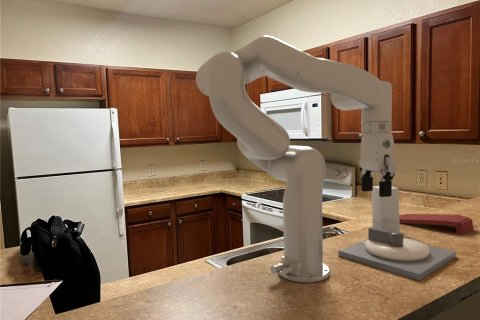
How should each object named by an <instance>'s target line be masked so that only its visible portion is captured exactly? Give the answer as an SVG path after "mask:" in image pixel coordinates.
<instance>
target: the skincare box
mask: <svg viewBox="0 0 480 320" xmlns="http://www.w3.org/2000/svg"><path fill="white" fill-rule="evenodd" d="M399 190H400V189H399V187H395V186H392V195H391V196H390V197H380V196H379V185H373V190H372V191H371V209H372V210H371V211H372V215H371V216H372V227H373V228H378V229H383V230H388V231H396V232H401V230H400V229H401V228H400V224H401V223H399V215H400V191H399Z"/></svg>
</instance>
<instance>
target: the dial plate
mask: <svg viewBox="0 0 480 320" xmlns="http://www.w3.org/2000/svg"><path fill="white" fill-rule="evenodd" d="M367 240H368V238H366V239H364V240H362V241H360V242H356V243H354V244H352V245H349V246H346V247H344V248H341V249H339V250H338V256H339V257H342V258H344V259H348V260H351V261H355V262H357V263H361V264H365V265H367V266H371V267H374V268H378V269H379V270H384V271H387V272H390V273H393V274H397V275H400V276H403V277H405V278H410V279H414V280H416V281H420V280H422V279H423V278H426V277H427V276H429V275H430V274H431V273H433V272H435V271H436V270H438V269H440V268H441V267H442V266H444V265H446V264H447V263H448V262H451V261H452V260H453V259H455V258H456V257H457V251H456V250H451V249H446V248H444V247H443V248H442V247H438V246H433V245H429V244H426V245H427V246H428V247H429V256H428V257H427V258H425V259H423V260H418V261H397V260H390V259H385V258H381V257H378V256H375V255H373V254H371V253H369V252H368V251H367V250H366V249H365V242H366V241H367Z"/></svg>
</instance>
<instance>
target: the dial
mask: <svg viewBox="0 0 480 320" xmlns="http://www.w3.org/2000/svg"><path fill="white" fill-rule="evenodd" d="M367 232H368V235H367V236H368V238H367V239H368V240H367V241H366V242H365V249H366V250H367V251H368V252H369V253H371V254H373V255H375V256H378V257H381V258H385V259H390V260H397V261H418V260H423V259H425V258H427V257H428V256H429V247H428V246H427V245H428V244H425V243H423V242H421V241H417V240H414V239H412V238H411V239H410V238H406V237H404V233H403V232H401V231H400V232H396V231H388V230H383V229H378V228H373V226H372V227H368V231H367Z"/></svg>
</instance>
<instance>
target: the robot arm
mask: <svg viewBox="0 0 480 320" xmlns="http://www.w3.org/2000/svg"><path fill="white" fill-rule="evenodd" d="M262 77H267V78H270V79H272V80H274V81H276V82H279V83H281V84H284V85H286V86H287V87H290V88H293V89H295V90H296V91H300V92H304V93H305V92H307V93H316V94H317V93H319V94H321V93H325V94H326V93H327V94H330V102H331V104H332V105H333V106H334V107H335V108H336V109H338V110H340V111H354V110H355V111H356V110H360V113H361V115H360V116H361V120H360V121H361V122H360V124H361V125H360V128H361V129H360V131H361V133H360V134H361V141H360V156H359V158H360V159H359V160H358V166H359V172H360V177H361V179H360V181H361V183H360V184H361V186H360V187H361V189H360V190H361V192H372V190H373V186H374V177H373V176H372V175H373V173H374V172H375V173H378V176H379V179H380V181H378V186H379V196H380V197H390V196H391V195H392V187H393V186H392V185H393V184H392V183H393V181H394V177H395V175H396V171H397V169H398V166H397V164H396V150H395V148H396V147H395V141H394V136H393V134H392V131H393V130H392V125H393V124H392V116H393V114H392V113H393V111H392V110H393V105H392V104H393V86H392V83H391V82H389V81H386V80H384V81H383V80H380V79H379V78H378V77H377V76H376V75H374V74H372V72H369V71H367V70H366V69H363V68H360V67H359V66H355V65H353V64H350V63H344V62H339V61H335V60H331V59H325V58H320V57H316V56H313V55H312V54H309V53H307V52H305V51H303V50H301V49H298V48H297V47H295V46H293V45H291V44H289V43H286V42H285V41H282V40H280V39H278V38H275V37H274V36H270V35H263V36H260V37H257V38H256V39H253V40H252V41H250V43H248V44H246V45H245V46H243V47H241V48H239V49H237V50H235V51H232V52H230V51H221V52H218V53H216V54H214V55H213V56H211V57H210V58H209V59H207V60H206V61H205V62H204V63H202V64H201V65H200V66H199V68H198V70H197V72H196V76H195V83H196V85H197V88H198V90H199V91H200V92H201V93H202V94H203V95H205V96H207V97H208V99H209V103H210V106H211V110H212V113H213V114H214V116H215V119H216V120H217V121H218V122H219V124H220V125H221V126H222V127H223V128H225V130H227V131H228V132H229V133H230V134H231V135H233V136H234V138H236V142H237V146H238V149H239V151H240V152H241V154H242V155H243V156H244V157H245V158H246V159H248V160H249V161H250V162H252V163H253V164H255V166H257V167H259V168H260V169H261V170H262V171H264V172H266V173H267V174H268V175H269V176H271V177H272V178H274V179H276V180H279V181H281V182H286V185H285V189H284V193H283V197H282V198H283V199H282V212H283V213H282V214H283V215H282V217H283V223H282V224H283V256H280V258H281V259H280V260H281V261H279V263H275V264H273V265H271V266H270V272H271V273H272V274H273V275H276V274H279V276H280V277H282V278H284V279H286V280H289V281H292V282H296V283H303V284H304V283H305V284H306V283H317V282H321V281H323V280H326V279H327V278H328V277H329V276H330V268H329V266H328V265H327V264H325V263H324V248H323V247H324V246H323V245H324V244H323V241H324V240H323V238H324V237H323V233H324V232H323V190H324V183H325V178H326V172H327V170H326V169H327V166H326V165H327V164H326V160H325V158H324V156H323V155H322V154H321V152H320V151H319V150H317V149H315V148H314V147H310V146H306V145H304V146H303V145H291V138H290V135H289V133H288V132H287V130H286V129H285V128H284V126H282V125H281V124H280V123H279V122H278V121H275V119H274V118H272V117H271V116H269V114H267V113H266V112H265V111H264V110H262V109H261V108H260V107H258V105H256V104H255V102H253V101H252V100H251V98H250V97H249V95H248V92H247V89H246V85H247V84H249V83H252V82H253V81H256V80H257V79H259V78H262Z"/></svg>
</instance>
